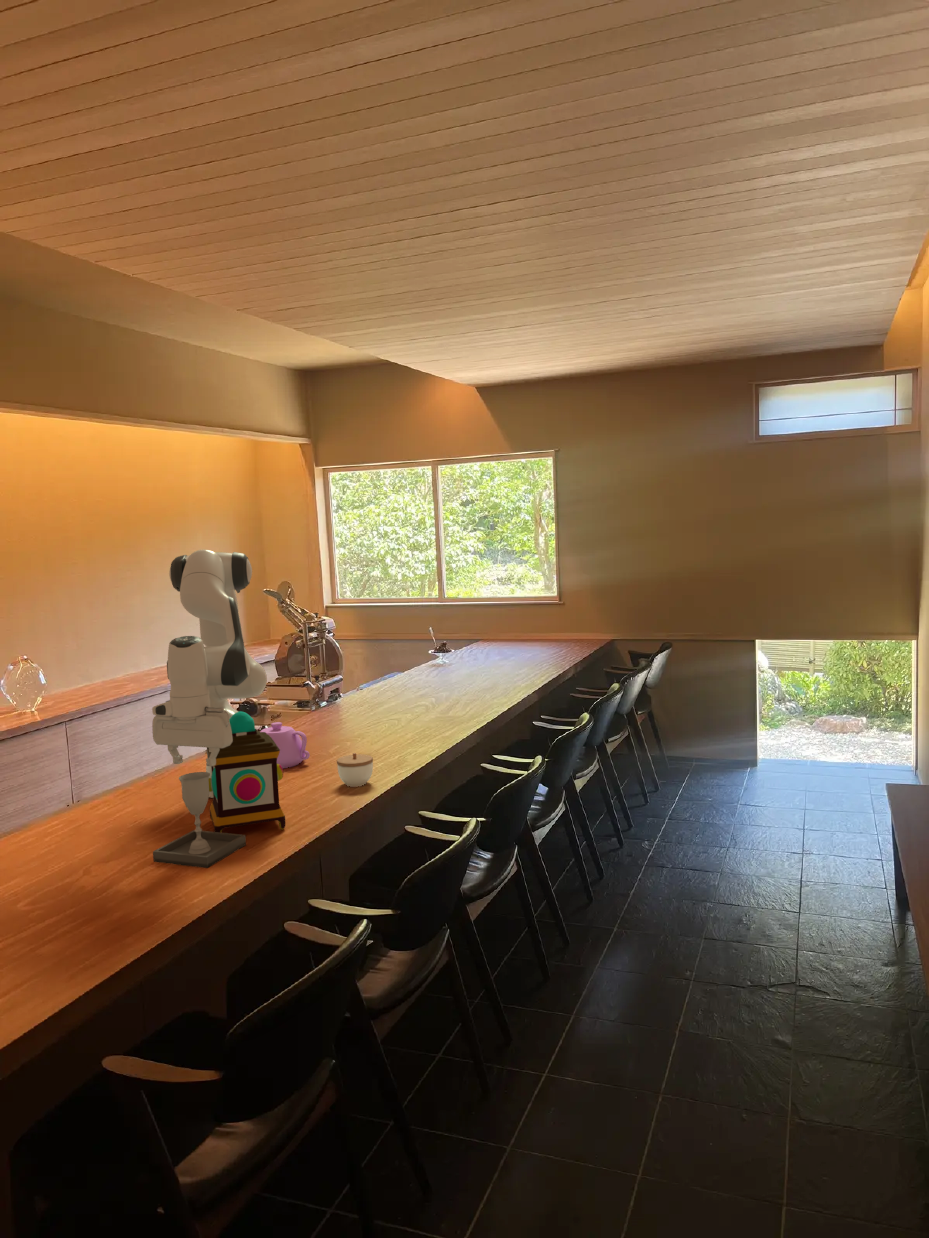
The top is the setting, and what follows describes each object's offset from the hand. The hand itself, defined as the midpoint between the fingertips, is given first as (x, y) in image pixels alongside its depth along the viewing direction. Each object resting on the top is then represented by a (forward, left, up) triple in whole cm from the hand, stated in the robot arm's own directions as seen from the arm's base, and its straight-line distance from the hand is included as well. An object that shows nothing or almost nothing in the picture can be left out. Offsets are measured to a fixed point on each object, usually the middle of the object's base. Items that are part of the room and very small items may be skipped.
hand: (194, 764), depth 202 cm
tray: (0, 0, -22) cm, 22 cm away
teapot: (-76, -28, -22) cm, 84 cm away
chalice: (0, 0, -21) cm, 21 cm away
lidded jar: (-60, +10, -22) cm, 65 cm away
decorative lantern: (-20, -1, -22) cm, 30 cm away
